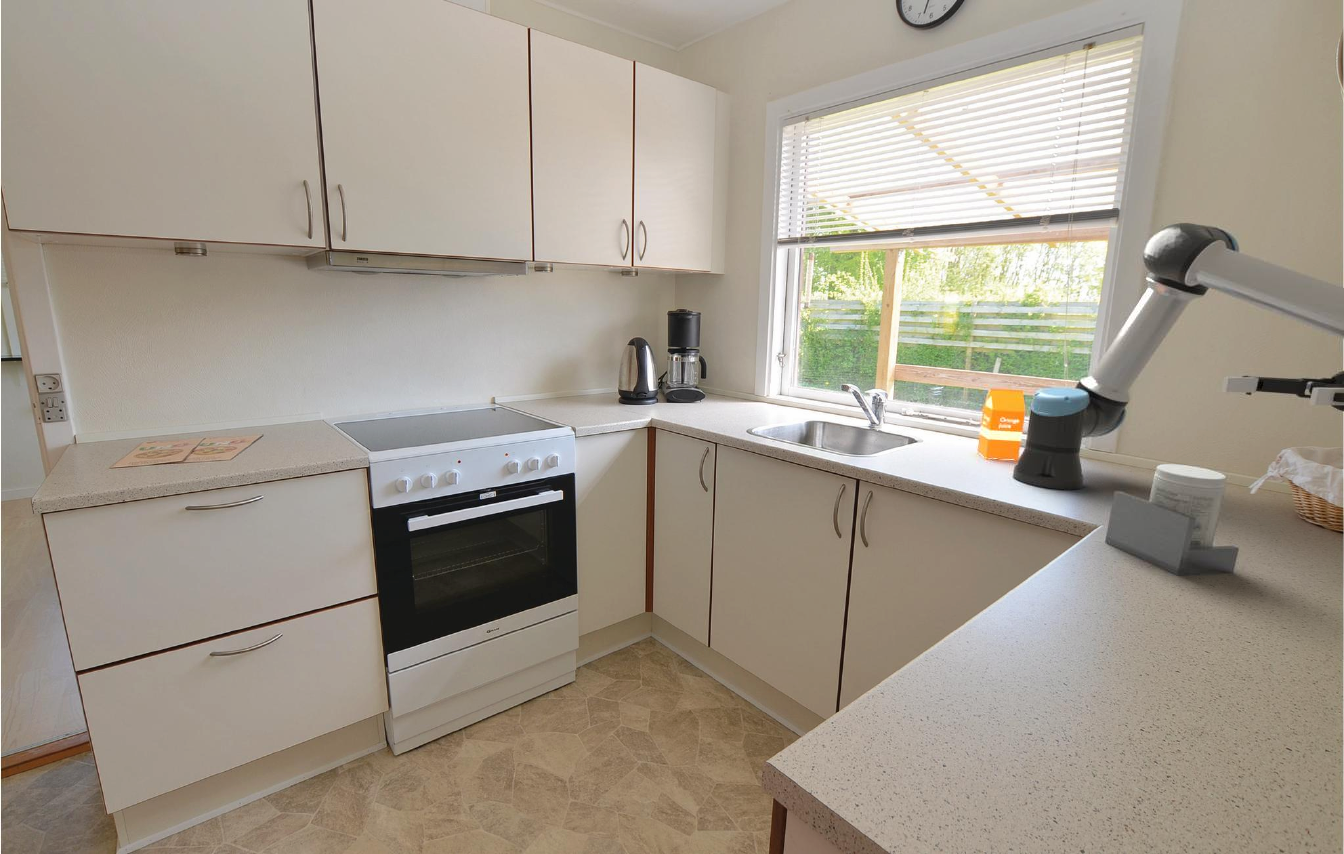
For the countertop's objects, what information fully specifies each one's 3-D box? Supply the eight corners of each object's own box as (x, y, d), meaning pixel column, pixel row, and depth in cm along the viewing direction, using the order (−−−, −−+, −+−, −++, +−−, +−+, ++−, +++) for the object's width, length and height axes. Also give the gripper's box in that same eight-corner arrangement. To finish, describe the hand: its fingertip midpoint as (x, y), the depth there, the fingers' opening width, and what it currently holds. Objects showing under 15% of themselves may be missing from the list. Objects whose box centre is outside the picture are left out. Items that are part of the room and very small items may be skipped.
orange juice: (1018, 461, 172) (1028, 392, 168) (985, 459, 173) (995, 390, 169) (1008, 454, 179) (1017, 388, 175) (976, 452, 181) (985, 387, 177)
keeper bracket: (1105, 542, 113) (1114, 491, 111) (1155, 540, 114) (1165, 490, 112) (1177, 575, 99) (1189, 518, 97) (1233, 572, 101) (1246, 516, 99)
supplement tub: (1158, 536, 113) (1174, 461, 110) (1221, 556, 104) (1239, 475, 101) (1129, 544, 109) (1144, 466, 106) (1191, 565, 100) (1210, 481, 97)
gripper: (1460, 426, 95) (1351, 426, 91) (1281, 400, 119) (1190, 399, 116) (1475, 378, 93) (1364, 377, 90) (1290, 362, 117) (1198, 360, 114)
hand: (1266, 390), depth 103 cm, fingers open, 13 cm apart
